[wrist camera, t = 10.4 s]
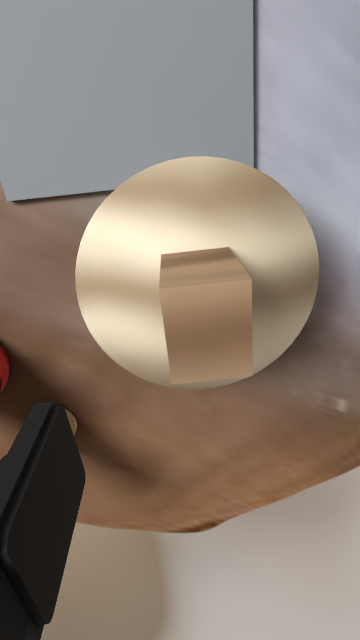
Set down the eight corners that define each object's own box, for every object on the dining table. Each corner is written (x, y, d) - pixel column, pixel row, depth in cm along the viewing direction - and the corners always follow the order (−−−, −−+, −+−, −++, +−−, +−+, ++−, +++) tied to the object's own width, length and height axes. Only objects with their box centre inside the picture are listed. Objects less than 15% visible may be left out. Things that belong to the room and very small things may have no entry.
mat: (-98, -166, 17) (-107, -177, 17) (249, -208, 17) (252, -220, 17) (10, 200, 25) (6, 201, 25) (251, 174, 25) (253, 174, 24)
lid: (53, 172, 19) (-7, 177, 12) (320, 142, 19) (401, 131, 12) (105, 389, 25) (83, 468, 19) (305, 368, 25) (353, 441, 19)
